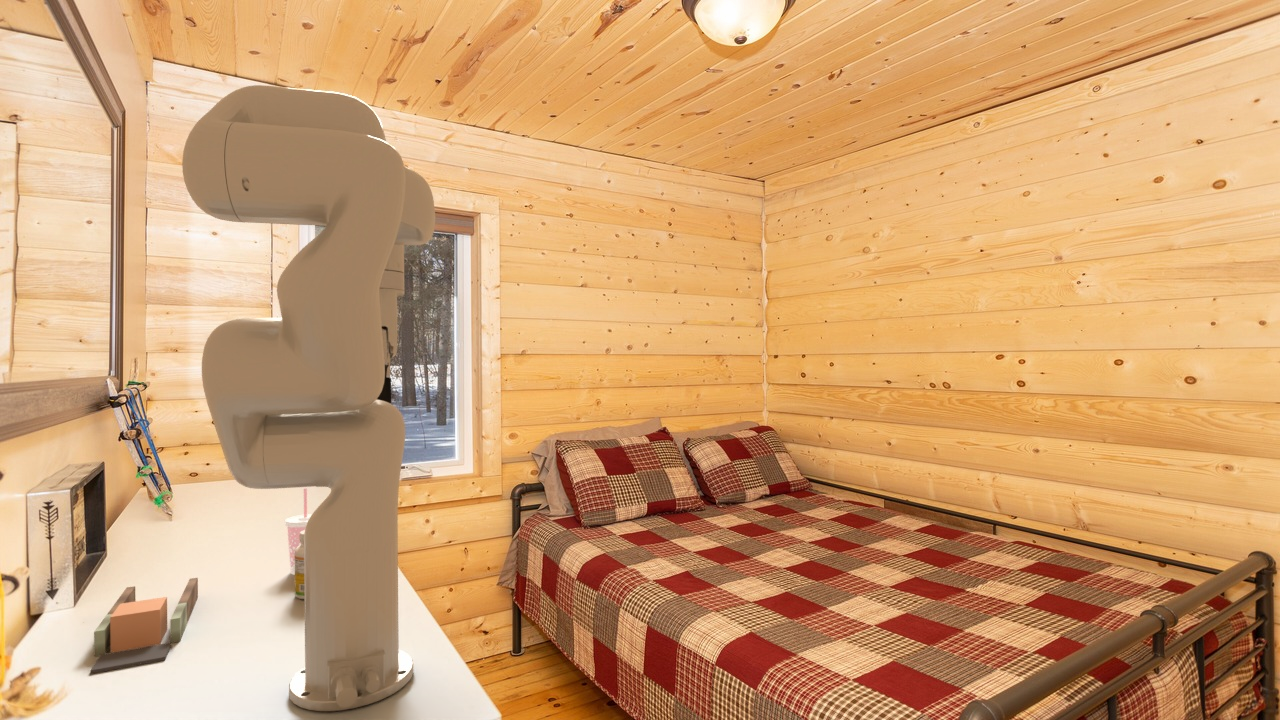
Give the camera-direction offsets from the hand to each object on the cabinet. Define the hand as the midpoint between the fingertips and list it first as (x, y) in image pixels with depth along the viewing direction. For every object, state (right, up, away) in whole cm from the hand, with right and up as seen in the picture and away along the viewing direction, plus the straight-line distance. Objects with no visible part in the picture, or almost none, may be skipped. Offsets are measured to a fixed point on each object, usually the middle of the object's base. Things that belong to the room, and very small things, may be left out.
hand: (379, 404), depth 100 cm
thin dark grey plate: (-21, -29, -21) cm, 42 cm away
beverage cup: (-17, -29, +11) cm, 36 cm away
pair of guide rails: (-27, -29, -11) cm, 41 cm away
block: (-24, -30, -16) cm, 42 cm away
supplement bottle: (-10, -29, 0) cm, 31 cm away
